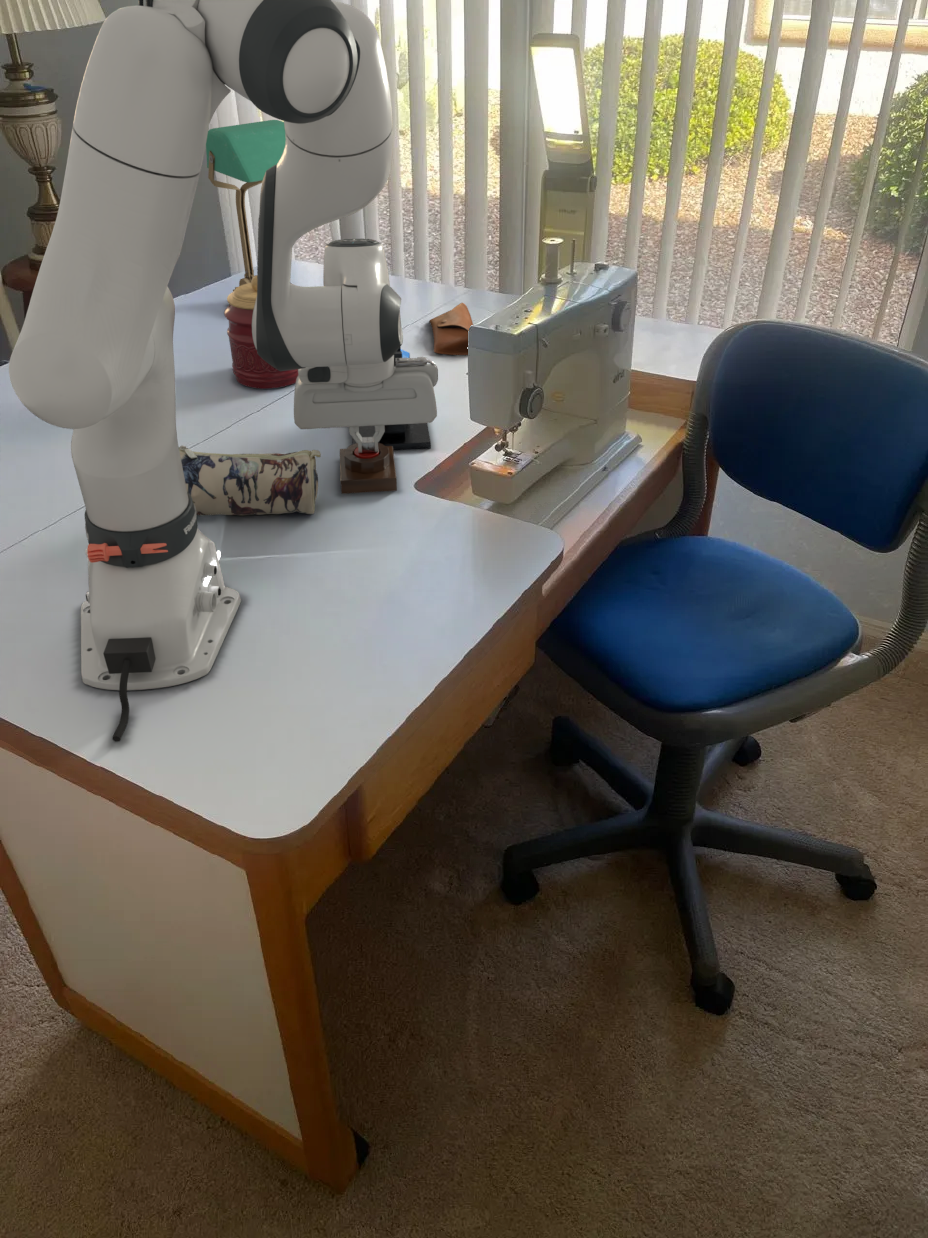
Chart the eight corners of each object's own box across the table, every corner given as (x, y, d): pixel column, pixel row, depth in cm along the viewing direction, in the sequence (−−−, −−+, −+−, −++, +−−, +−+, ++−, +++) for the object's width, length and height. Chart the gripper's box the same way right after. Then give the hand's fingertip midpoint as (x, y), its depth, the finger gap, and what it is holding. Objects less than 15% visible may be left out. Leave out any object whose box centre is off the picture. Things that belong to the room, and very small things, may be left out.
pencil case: (163, 526, 133) (149, 462, 127) (178, 495, 139) (165, 433, 133) (323, 526, 133) (316, 462, 127) (330, 495, 139) (324, 433, 133)
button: (380, 466, 141) (379, 455, 140) (355, 468, 141) (354, 457, 140) (378, 455, 144) (378, 444, 143) (354, 456, 144) (353, 445, 143)
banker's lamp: (279, 292, 208) (258, 111, 187) (333, 319, 195) (317, 128, 174) (213, 309, 200) (183, 121, 179) (265, 338, 187) (239, 140, 166)
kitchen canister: (220, 374, 174) (204, 274, 163) (281, 355, 181) (270, 258, 170) (259, 396, 166) (245, 293, 155) (321, 376, 173) (312, 276, 162)
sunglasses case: (426, 318, 194) (442, 289, 191) (456, 335, 197) (473, 306, 194) (433, 353, 180) (451, 322, 177) (465, 370, 183) (484, 340, 179)
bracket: (353, 453, 150) (346, 361, 141) (352, 427, 157) (345, 338, 148) (430, 449, 151) (428, 357, 142) (426, 423, 158) (423, 335, 149)
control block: (397, 491, 140) (395, 466, 138) (341, 494, 140) (339, 469, 137) (393, 458, 148) (392, 434, 146) (340, 461, 147) (338, 437, 145)
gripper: (435, 347, 136) (437, 437, 145) (288, 354, 135) (299, 444, 143) (439, 365, 131) (441, 457, 140) (287, 372, 130) (298, 464, 138)
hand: (368, 450), depth 141 cm, fingers closed, pressing on button
